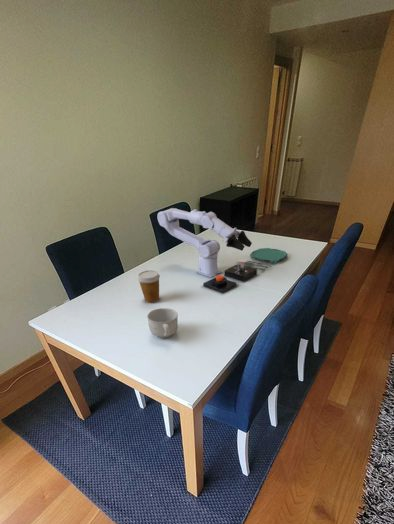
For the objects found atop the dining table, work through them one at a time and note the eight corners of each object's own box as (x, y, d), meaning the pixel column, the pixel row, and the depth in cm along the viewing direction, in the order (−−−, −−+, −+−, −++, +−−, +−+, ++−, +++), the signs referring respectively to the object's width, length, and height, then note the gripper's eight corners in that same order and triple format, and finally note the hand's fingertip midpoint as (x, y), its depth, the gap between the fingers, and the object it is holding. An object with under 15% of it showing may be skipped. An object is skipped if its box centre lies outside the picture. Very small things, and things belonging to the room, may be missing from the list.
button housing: (203, 286, 139) (203, 279, 137) (217, 279, 144) (217, 272, 142) (222, 293, 132) (222, 286, 130) (236, 286, 137) (236, 279, 135)
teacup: (151, 326, 113) (147, 308, 108) (178, 323, 113) (177, 305, 108) (149, 347, 102) (145, 328, 97) (180, 345, 102) (178, 325, 97)
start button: (214, 280, 136) (214, 276, 135) (219, 277, 138) (219, 274, 137) (220, 282, 134) (220, 278, 133) (225, 279, 136) (225, 276, 135)
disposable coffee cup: (166, 295, 133) (163, 270, 126) (157, 305, 126) (153, 279, 119) (147, 293, 136) (143, 269, 128) (137, 303, 129) (132, 277, 121)
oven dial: (235, 269, 145) (235, 262, 143) (239, 267, 147) (240, 260, 145) (241, 271, 143) (241, 264, 141) (246, 269, 145) (246, 262, 143)
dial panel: (224, 276, 147) (224, 270, 146) (237, 269, 153) (237, 263, 152) (243, 282, 141) (243, 276, 139) (256, 274, 147) (257, 268, 145)
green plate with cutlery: (292, 255, 165) (293, 251, 164) (267, 273, 147) (267, 269, 146) (261, 249, 176) (261, 245, 174) (234, 265, 158) (234, 261, 156)
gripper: (219, 224, 126) (244, 241, 123) (234, 220, 136) (257, 235, 134) (212, 239, 131) (236, 256, 128) (228, 233, 141) (250, 249, 138)
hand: (247, 246), depth 131 cm, fingers open, 7 cm apart
